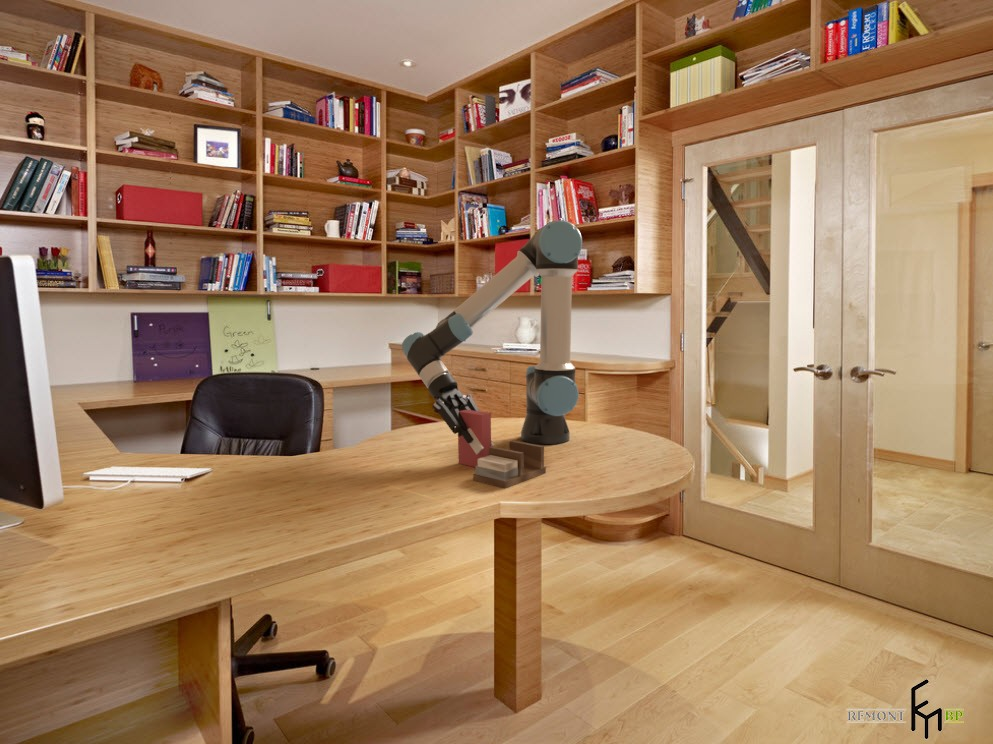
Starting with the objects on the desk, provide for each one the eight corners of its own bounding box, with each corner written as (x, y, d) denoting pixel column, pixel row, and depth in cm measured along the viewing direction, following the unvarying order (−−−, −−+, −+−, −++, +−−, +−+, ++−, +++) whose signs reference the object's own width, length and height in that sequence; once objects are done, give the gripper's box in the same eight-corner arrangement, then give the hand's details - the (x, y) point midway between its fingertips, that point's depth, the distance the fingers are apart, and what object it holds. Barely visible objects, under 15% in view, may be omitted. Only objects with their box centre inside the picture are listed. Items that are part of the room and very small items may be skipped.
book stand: (514, 466, 162) (514, 439, 161) (545, 472, 155) (545, 445, 154) (473, 480, 149) (472, 451, 149) (505, 488, 143) (504, 458, 142)
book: (467, 460, 167) (466, 409, 166) (491, 465, 162) (490, 413, 160) (458, 463, 165) (457, 411, 163) (482, 468, 159) (481, 415, 157)
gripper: (453, 386, 177) (498, 451, 168) (409, 393, 164) (456, 464, 156) (466, 369, 173) (513, 435, 164) (423, 375, 160) (471, 447, 152)
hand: (485, 449), depth 160 cm, fingers closed on book, 3 cm apart
